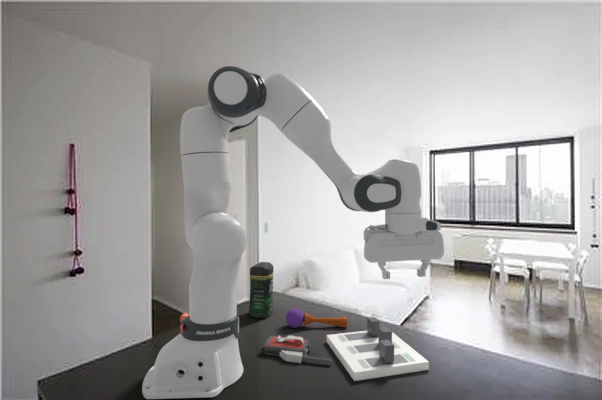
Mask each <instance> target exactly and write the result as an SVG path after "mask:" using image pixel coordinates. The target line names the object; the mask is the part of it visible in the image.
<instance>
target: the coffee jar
mask: <svg viewBox="0 0 602 400" xmlns="http://www.w3.org/2000/svg"><path fill="white" fill-rule="evenodd" d="M274 274H275V273H274V265H273V264H272V263H271V262H270V261H269V262H267V261H260V262H258V263H256V264H254V265H253V266H251V267H250V269H249V310H248V313H249V316H250V317H252V318H255V319H262V318H265V319H266V318H268V317H270V315H272V313H273V312H274Z"/></svg>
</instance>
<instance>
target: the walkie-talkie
mask: <svg viewBox="0 0 602 400" xmlns="http://www.w3.org/2000/svg"><path fill="white" fill-rule="evenodd" d="M311 347H312V344H311V343H309V340H308V339H304V337H302V336H299V335H298V336H296V335H286V337H284V336H281V335H280V334H279V335H278V336H274V335H272V336H271V335H270V336H269V337H268V338H267V339H266V341H265V343H264V347H261V348H259V352H260V353H263V354H264V355H266V354H267V355H266V356H271V355H272V356H274V357H280V358H281V359H282V360H283V361H284V362H290V363H297V364H302V362H313V363H331V364H332V363H333V360H332V359H330V358H323V357H314V356H309V355H308V352H311V350H312V349H311Z"/></svg>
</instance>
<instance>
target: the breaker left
mask: <svg viewBox="0 0 602 400" xmlns="http://www.w3.org/2000/svg"><path fill="white" fill-rule="evenodd" d="M366 320H367V321H366V322H367V323H366V331H367V332H368V333H369V334H370V335H371V336H379V328H380V320H378V319H377V318H376V317H375V316H374V317H373V316H372V317H367V319H366Z"/></svg>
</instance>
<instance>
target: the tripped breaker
mask: <svg viewBox="0 0 602 400" xmlns="http://www.w3.org/2000/svg"><path fill="white" fill-rule="evenodd" d="M379 357H380V358H381V359H382V360H383V361H384V362H385V363H390V362H394V344H392V343H391V342H390V341H389V340H380V341H379Z"/></svg>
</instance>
